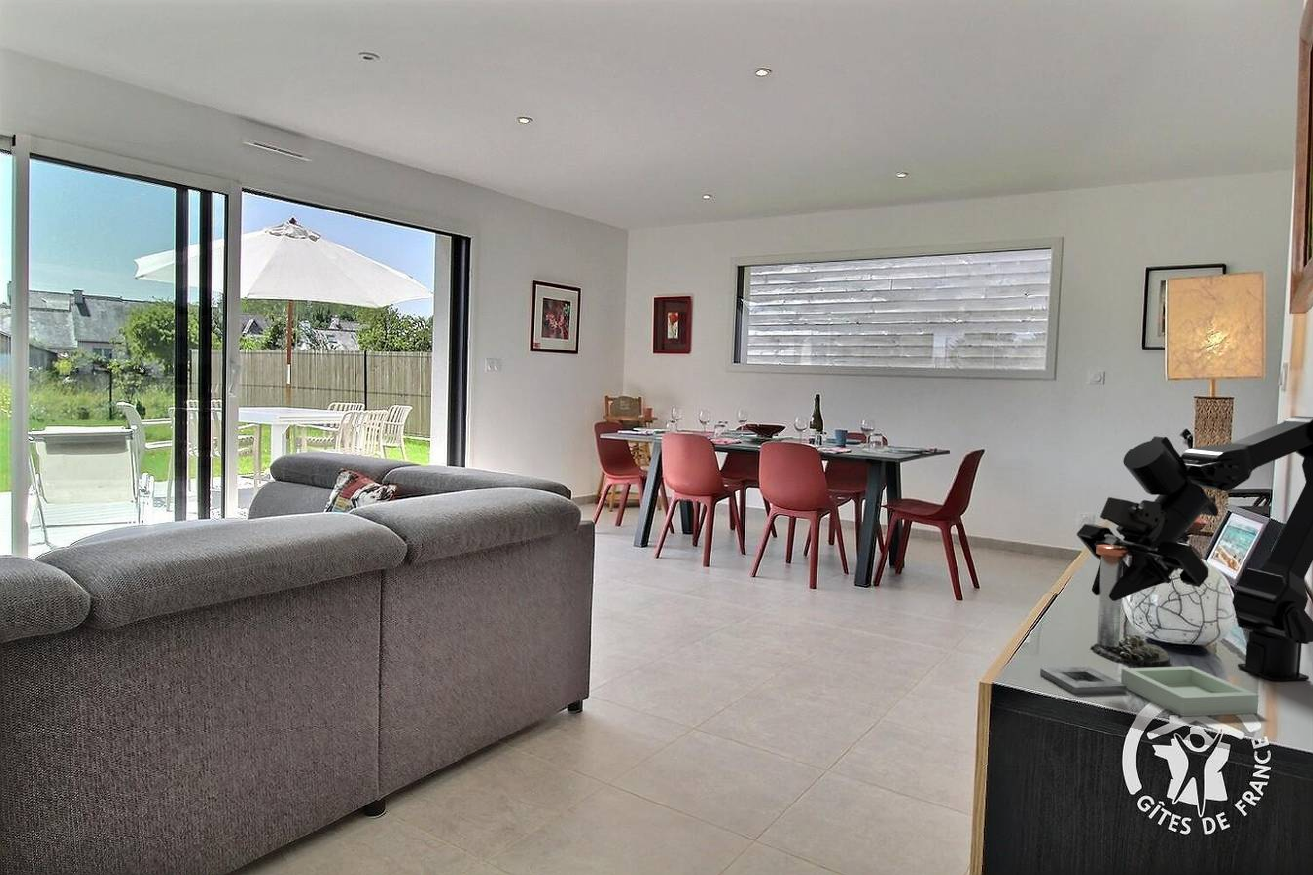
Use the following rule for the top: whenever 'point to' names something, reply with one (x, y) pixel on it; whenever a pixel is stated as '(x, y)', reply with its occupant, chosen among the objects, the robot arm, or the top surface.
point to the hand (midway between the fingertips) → (1102, 595)
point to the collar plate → (1097, 685)
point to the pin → (1108, 579)
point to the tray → (1189, 691)
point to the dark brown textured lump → (1134, 653)
